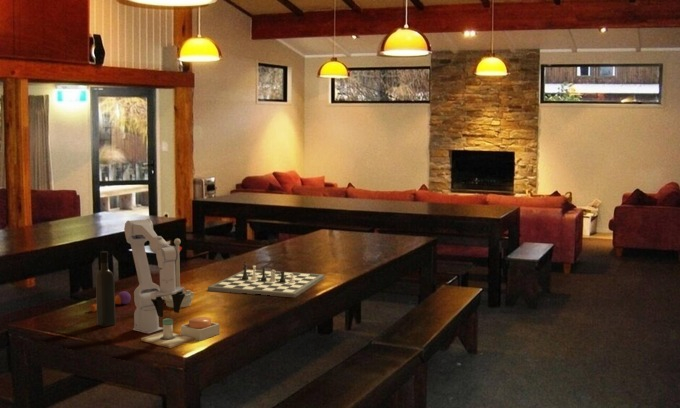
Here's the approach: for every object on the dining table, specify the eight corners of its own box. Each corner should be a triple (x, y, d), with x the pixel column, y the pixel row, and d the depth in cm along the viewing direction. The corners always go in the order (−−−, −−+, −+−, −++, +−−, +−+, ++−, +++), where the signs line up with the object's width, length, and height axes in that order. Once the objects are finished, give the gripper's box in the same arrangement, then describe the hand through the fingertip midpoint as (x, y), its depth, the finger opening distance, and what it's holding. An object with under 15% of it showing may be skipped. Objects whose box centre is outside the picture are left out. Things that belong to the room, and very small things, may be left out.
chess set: (207, 292, 359) (207, 269, 357) (245, 273, 401) (245, 253, 400) (294, 299, 346) (294, 275, 344) (324, 279, 388) (324, 257, 387)
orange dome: (184, 329, 284) (184, 320, 284) (200, 324, 291) (200, 315, 290) (200, 333, 279) (199, 324, 279) (215, 327, 286) (215, 319, 286)
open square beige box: (180, 335, 284) (180, 325, 284) (200, 329, 292) (200, 319, 292) (200, 340, 278) (200, 330, 278) (219, 334, 287) (219, 324, 286)
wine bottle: (108, 322, 303) (106, 249, 299) (116, 324, 299) (114, 251, 296) (96, 325, 298) (93, 251, 295) (104, 327, 295) (101, 253, 291)
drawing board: (141, 340, 278) (140, 338, 278) (165, 332, 288) (165, 330, 288) (170, 348, 269) (170, 345, 269) (194, 340, 279) (194, 337, 279)
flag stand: (186, 308, 324) (185, 241, 321) (158, 307, 327) (157, 240, 323) (198, 301, 337) (196, 236, 333) (171, 300, 340) (169, 235, 336)
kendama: (86, 302, 320) (123, 290, 336) (89, 315, 320) (126, 302, 337) (95, 301, 317) (132, 289, 333) (98, 315, 317) (134, 302, 333)
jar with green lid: (160, 338, 278) (160, 320, 277) (168, 335, 281) (167, 317, 280) (167, 340, 276) (167, 321, 275) (175, 337, 279) (174, 319, 278)
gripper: (158, 283, 268) (159, 320, 269) (189, 277, 279) (190, 312, 281) (146, 281, 272) (147, 317, 274) (177, 274, 283) (178, 309, 285)
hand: (168, 314), depth 277 cm, fingers open, 7 cm apart
